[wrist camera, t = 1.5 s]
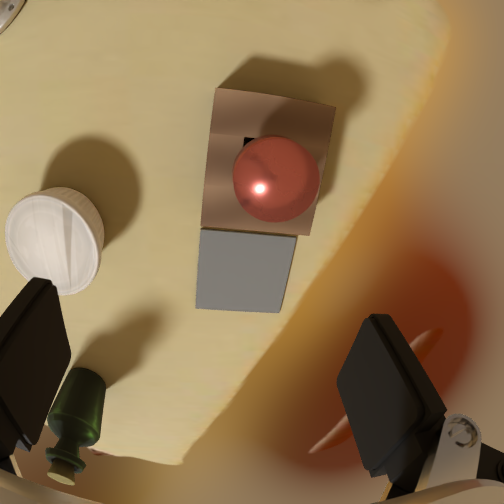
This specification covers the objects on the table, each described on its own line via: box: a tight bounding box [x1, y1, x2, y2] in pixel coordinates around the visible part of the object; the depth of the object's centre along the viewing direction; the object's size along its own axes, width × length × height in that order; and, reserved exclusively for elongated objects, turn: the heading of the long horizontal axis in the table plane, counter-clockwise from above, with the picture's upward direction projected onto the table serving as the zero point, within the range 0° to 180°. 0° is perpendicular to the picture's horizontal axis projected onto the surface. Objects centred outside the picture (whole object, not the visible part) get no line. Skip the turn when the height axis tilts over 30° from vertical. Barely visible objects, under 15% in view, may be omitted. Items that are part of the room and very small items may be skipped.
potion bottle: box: [45, 368, 106, 485], centre depth 34 cm, size 8×8×18 cm
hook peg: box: [232, 135, 320, 223], centre depth 26 cm, size 6×6×9 cm
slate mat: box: [196, 229, 296, 313], centre depth 35 cm, size 10×10×1 cm
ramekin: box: [5, 187, 104, 295], centre depth 28 cm, size 11×11×5 cm
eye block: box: [201, 88, 336, 236], centre depth 28 cm, size 12×10×4 cm
